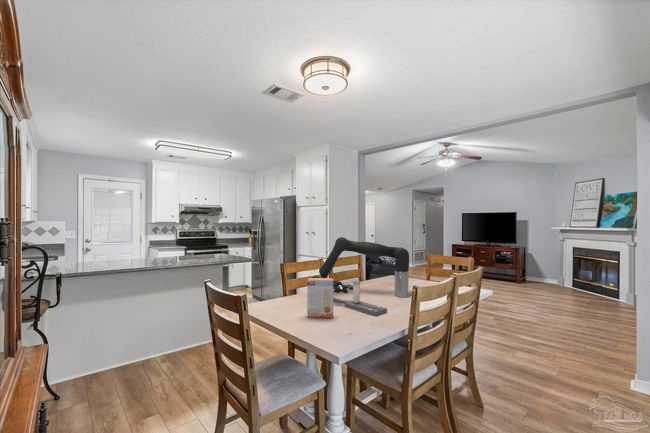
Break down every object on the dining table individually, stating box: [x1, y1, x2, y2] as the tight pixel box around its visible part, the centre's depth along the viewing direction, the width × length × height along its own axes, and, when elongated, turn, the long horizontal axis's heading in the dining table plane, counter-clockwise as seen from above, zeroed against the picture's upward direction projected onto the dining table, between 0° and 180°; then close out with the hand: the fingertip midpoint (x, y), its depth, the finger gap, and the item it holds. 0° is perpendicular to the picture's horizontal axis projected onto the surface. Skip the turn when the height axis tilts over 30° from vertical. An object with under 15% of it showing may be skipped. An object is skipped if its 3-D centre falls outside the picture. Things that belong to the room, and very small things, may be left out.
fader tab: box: [351, 280, 362, 304], centre depth 191 cm, size 4×4×13 cm
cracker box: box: [306, 277, 334, 319], centre depth 173 cm, size 14×6×21 cm, turn 84°
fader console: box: [344, 300, 388, 317], centre depth 186 cm, size 24×10×3 cm, turn 42°
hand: (351, 290), depth 194 cm, fingers open, 8 cm apart
